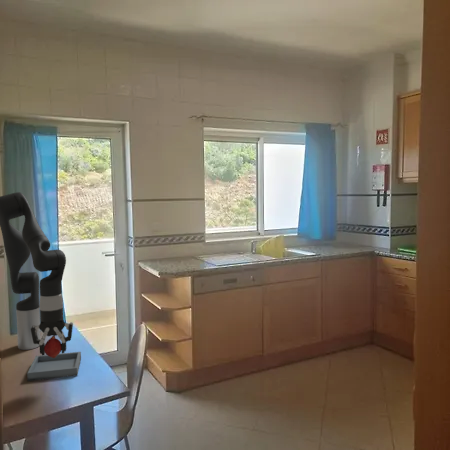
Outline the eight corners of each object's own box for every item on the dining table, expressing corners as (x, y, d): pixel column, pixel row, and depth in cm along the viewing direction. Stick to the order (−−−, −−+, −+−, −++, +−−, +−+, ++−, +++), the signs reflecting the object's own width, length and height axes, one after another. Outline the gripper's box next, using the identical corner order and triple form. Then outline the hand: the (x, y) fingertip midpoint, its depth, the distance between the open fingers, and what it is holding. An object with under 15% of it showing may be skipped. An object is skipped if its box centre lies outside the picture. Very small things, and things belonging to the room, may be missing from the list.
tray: (36, 363, 168) (36, 355, 167) (81, 358, 172) (80, 351, 172) (27, 381, 151) (27, 373, 151) (77, 375, 155) (77, 367, 155)
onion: (45, 362, 144) (44, 339, 144) (43, 356, 149) (43, 334, 149) (63, 359, 147) (62, 337, 146) (61, 353, 152) (60, 332, 151)
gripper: (74, 302, 152) (75, 347, 153) (31, 305, 148) (33, 351, 150) (72, 308, 145) (73, 355, 146) (27, 311, 141) (29, 359, 142)
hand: (53, 353), depth 148 cm, fingers closed on onion, 6 cm apart
